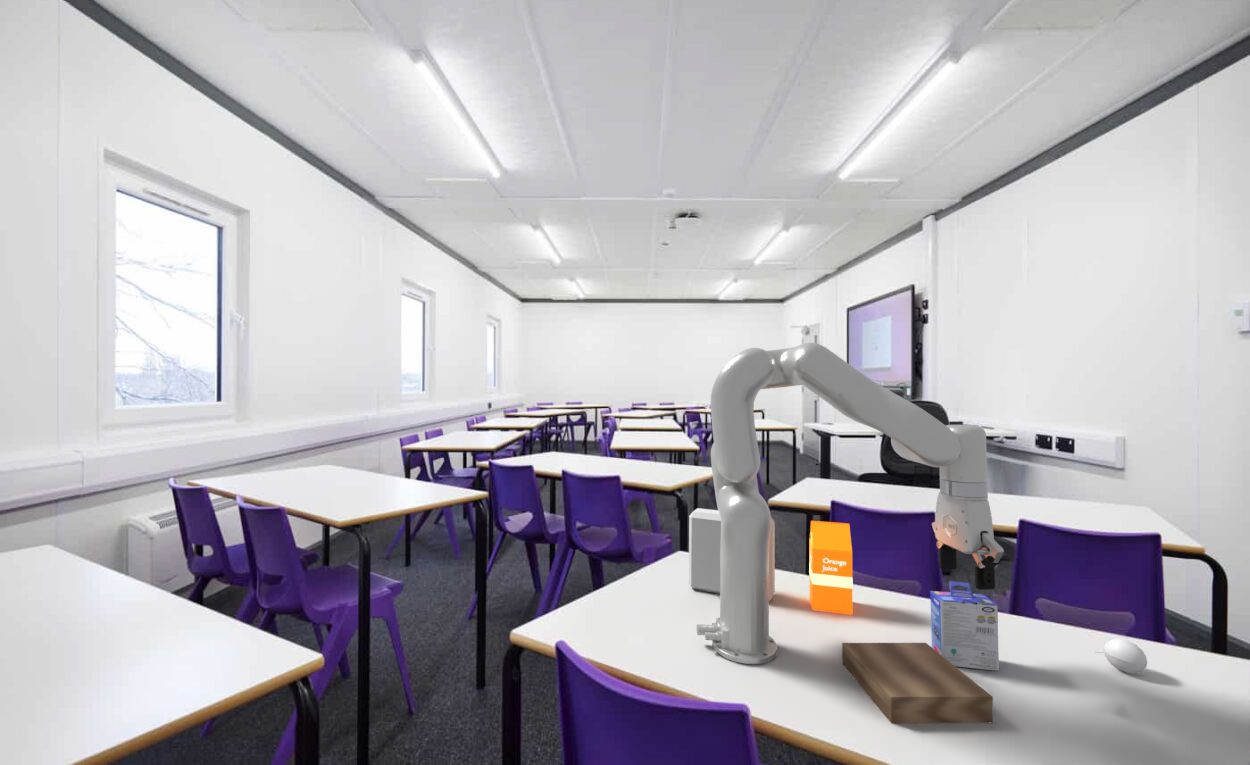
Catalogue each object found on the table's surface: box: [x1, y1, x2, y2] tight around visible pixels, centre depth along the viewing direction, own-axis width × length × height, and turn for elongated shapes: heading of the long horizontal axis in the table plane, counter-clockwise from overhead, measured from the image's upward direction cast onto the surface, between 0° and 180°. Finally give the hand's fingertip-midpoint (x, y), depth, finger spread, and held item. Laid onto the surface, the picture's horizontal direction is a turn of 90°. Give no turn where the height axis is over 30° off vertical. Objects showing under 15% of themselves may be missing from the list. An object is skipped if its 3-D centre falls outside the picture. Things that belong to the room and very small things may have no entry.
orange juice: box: [808, 520, 854, 616], centre depth 115 cm, size 8×9×20 cm
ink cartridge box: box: [929, 580, 1000, 672], centre depth 92 cm, size 10×6×14 cm, turn 78°
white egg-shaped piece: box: [1095, 638, 1148, 674], centre depth 89 cm, size 8×6×6 cm
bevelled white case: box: [688, 507, 776, 602], centre depth 123 cm, size 21×8×20 cm, turn 66°
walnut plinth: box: [841, 642, 994, 724], centre depth 82 cm, size 16×16×4 cm
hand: (965, 578), depth 92 cm, fingers open, 9 cm apart
